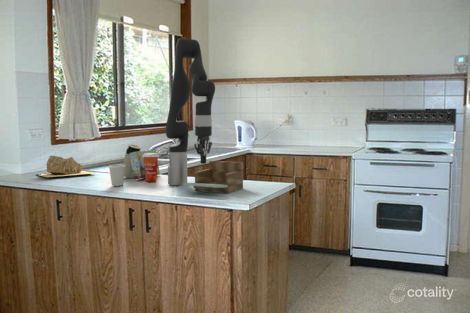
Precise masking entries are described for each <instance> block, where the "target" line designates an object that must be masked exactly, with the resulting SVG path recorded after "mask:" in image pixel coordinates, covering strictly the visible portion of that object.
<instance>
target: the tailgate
mask: <svg viewBox="0 0 470 313" xmlns="http://www.w3.org/2000/svg"><path fill="white" fill-rule="evenodd" d="M182 186H190V187H193V189H195V188H201V189H210V187H216V188H225V187H228V185H217V184H202V183H195V182H187V183H183V185H182Z"/></svg>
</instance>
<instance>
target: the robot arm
mask: <svg viewBox="0 0 470 313" xmlns="http://www.w3.org/2000/svg"><path fill="white" fill-rule="evenodd" d="M174 56H175V58H174V60H175V61H174V73H173V79H172V85H171V93H170V94H171V95H170V104H169V109H168V110H169V111H168V116H167V119H166V124H165V136H166V137H167V139H170V140H171V139H172V140H177V142H175V143H174V144H172V145H170V146H169V147H168V149H169V150H168V151H169V153H168V156H169V157H168V158H169V160H168V161H169V166H167V185H170V186H184V185H183V183H188V146H189V126H188V122H187V121H185V120H178V116H179V114H180V112H181V110H182V109H183V108H184V106H185V105H186V104H187V102H188V101H189V100H190V96H191V93H192V94H193V95H194V96H195V97H205V99H204V100H202V101H198V102H196V103H195V117H194V118H195V119H194V136H196V137H197V139H196V143H194V148H195V151H196V153H197V155H199V156H200V164H201V165H202V164H204V165H205V164H207V156H208V154H210V151H211V148H212V145H213V142H212V141H210V137H211V136H212V134H213V133H212V132H213V130H212V127H213V124H212V123H213V120H212V104H213V99H214V96H215V92H216V84H215V82H213V81H212V80H208V75H207V73H206V70H205V67H204V64H203V57H202V50H201V46H200V42H199V41H198V40H196V39H191V38H181V37H180V38H178V39H177V41H176V44H175V55H174ZM184 59H191V60H193V61H192V62H191V63H190V65H189V75H190V78H191V82H190V78H189V77H188V75H187V73H186V70H185V68H184Z"/></svg>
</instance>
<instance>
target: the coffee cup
mask: <svg viewBox="0 0 470 313" xmlns="http://www.w3.org/2000/svg"><path fill="white" fill-rule="evenodd" d="M143 157H144V169H145V178H144V180H145V182H147V183H154V182H155V183H156V182H157V180H158V175H157V163H158V164H159V161H158V160H159V155H158V153H157V152H156V153H146V154H144V156H143Z"/></svg>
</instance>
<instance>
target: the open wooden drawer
mask: <svg viewBox="0 0 470 313" xmlns="http://www.w3.org/2000/svg"><path fill="white" fill-rule="evenodd" d="M208 165H209V166H208V168H207V169H203V170H198V171H195V172H194V183H202V184H217V185H228V187H225V188H216V187H210V189H201V188H194V191H195V192H205V193H206V192H207V193H217V194H218V193H219V194H231V193H233V192H237V191H239V190H240V191H241V190H243V189H244V162H243V161H223V160H221V161H220V160H209V162H208Z"/></svg>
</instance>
